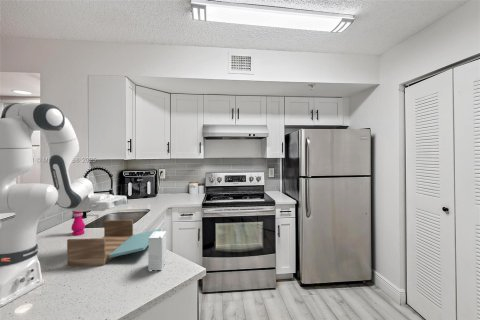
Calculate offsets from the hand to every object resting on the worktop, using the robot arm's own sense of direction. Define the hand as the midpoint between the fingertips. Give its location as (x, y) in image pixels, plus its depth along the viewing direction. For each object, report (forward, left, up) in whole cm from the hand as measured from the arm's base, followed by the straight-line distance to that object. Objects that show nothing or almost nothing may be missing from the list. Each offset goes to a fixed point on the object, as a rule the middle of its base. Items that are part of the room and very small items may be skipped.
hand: (127, 201), depth 118 cm
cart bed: (0, +12, -26) cm, 28 cm away
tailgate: (0, +3, -23) cm, 23 cm away
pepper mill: (+30, +44, -26) cm, 59 cm away
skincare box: (-20, -21, -26) cm, 39 cm away
